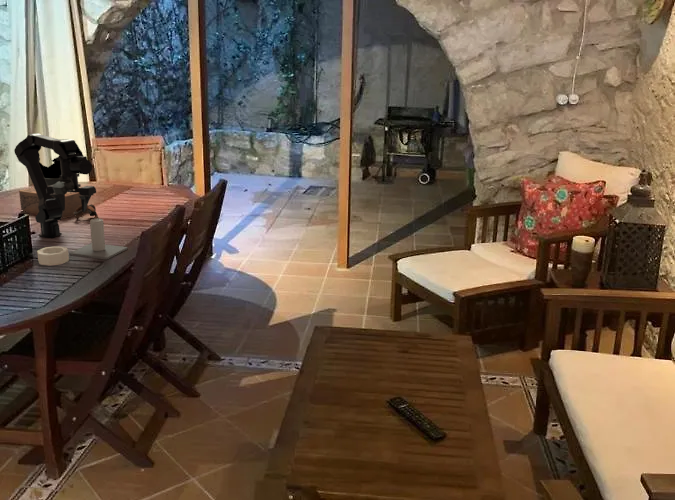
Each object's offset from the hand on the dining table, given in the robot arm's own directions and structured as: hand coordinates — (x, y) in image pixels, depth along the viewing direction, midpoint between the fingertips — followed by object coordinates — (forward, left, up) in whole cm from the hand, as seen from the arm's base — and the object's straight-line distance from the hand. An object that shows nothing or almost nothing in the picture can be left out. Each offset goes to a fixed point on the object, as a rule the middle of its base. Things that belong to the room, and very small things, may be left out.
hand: (73, 211), depth 268 cm
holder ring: (+7, -23, -13) cm, 27 cm away
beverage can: (+16, -8, -12) cm, 21 cm away
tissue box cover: (-39, +38, -13) cm, 56 cm away
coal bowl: (-62, +68, -13) cm, 93 cm away
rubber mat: (+16, -8, -13) cm, 22 cm away
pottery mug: (-16, +32, -13) cm, 38 cm away
